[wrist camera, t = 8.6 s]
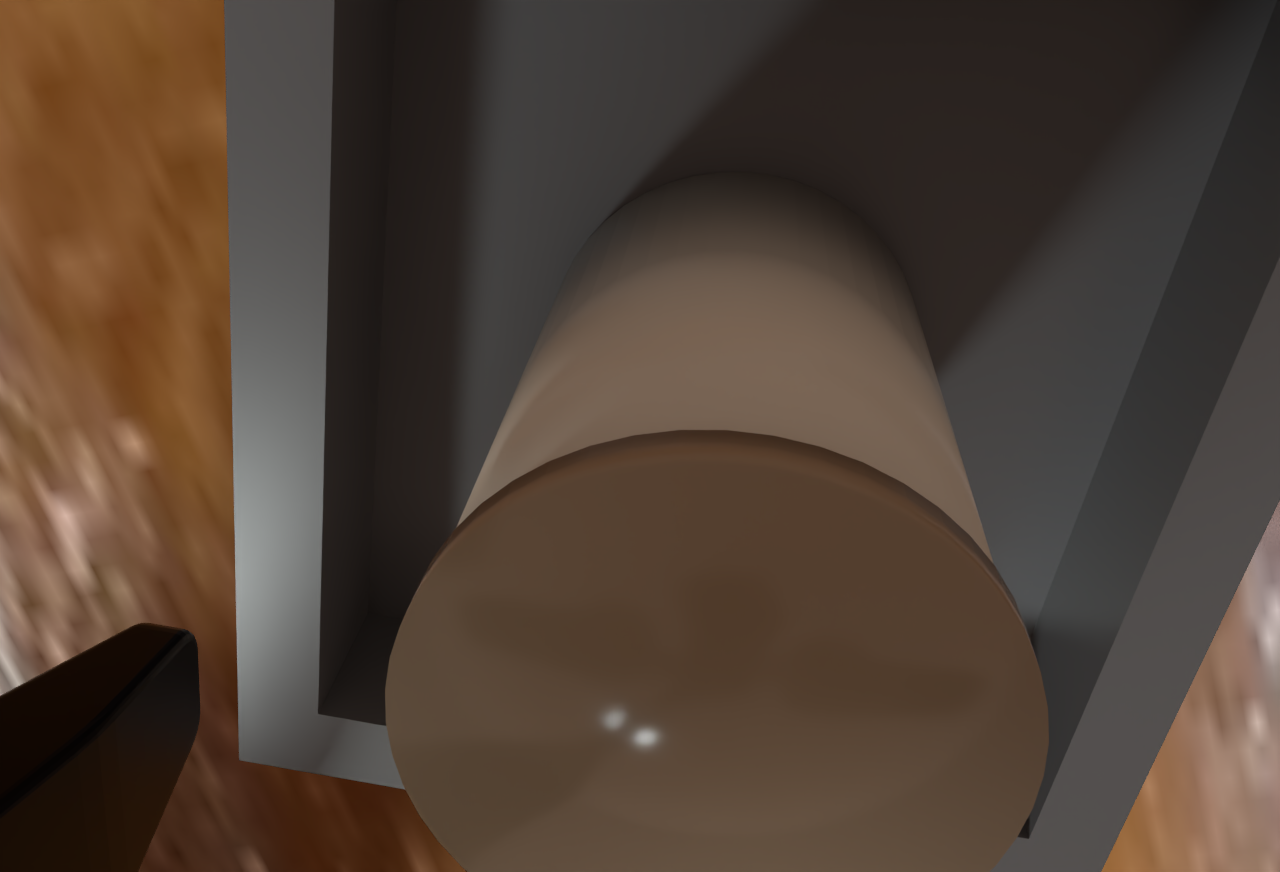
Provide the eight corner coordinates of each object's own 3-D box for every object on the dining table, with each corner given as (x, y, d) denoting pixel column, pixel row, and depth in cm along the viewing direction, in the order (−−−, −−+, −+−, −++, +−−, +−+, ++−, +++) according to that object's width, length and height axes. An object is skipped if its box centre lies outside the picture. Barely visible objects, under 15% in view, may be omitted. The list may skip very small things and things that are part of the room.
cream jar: (526, 480, 18) (372, 910, 11) (567, 132, 15) (401, 402, 8) (873, 541, 18) (942, 1015, 11) (973, 202, 15) (1150, 534, 8)
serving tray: (315, 621, 21) (238, 759, 18) (334, -290, 14) (217, -323, 11) (1034, 747, 21) (1083, 909, 18) (1388, -112, 14) (1566, -94, 11)
